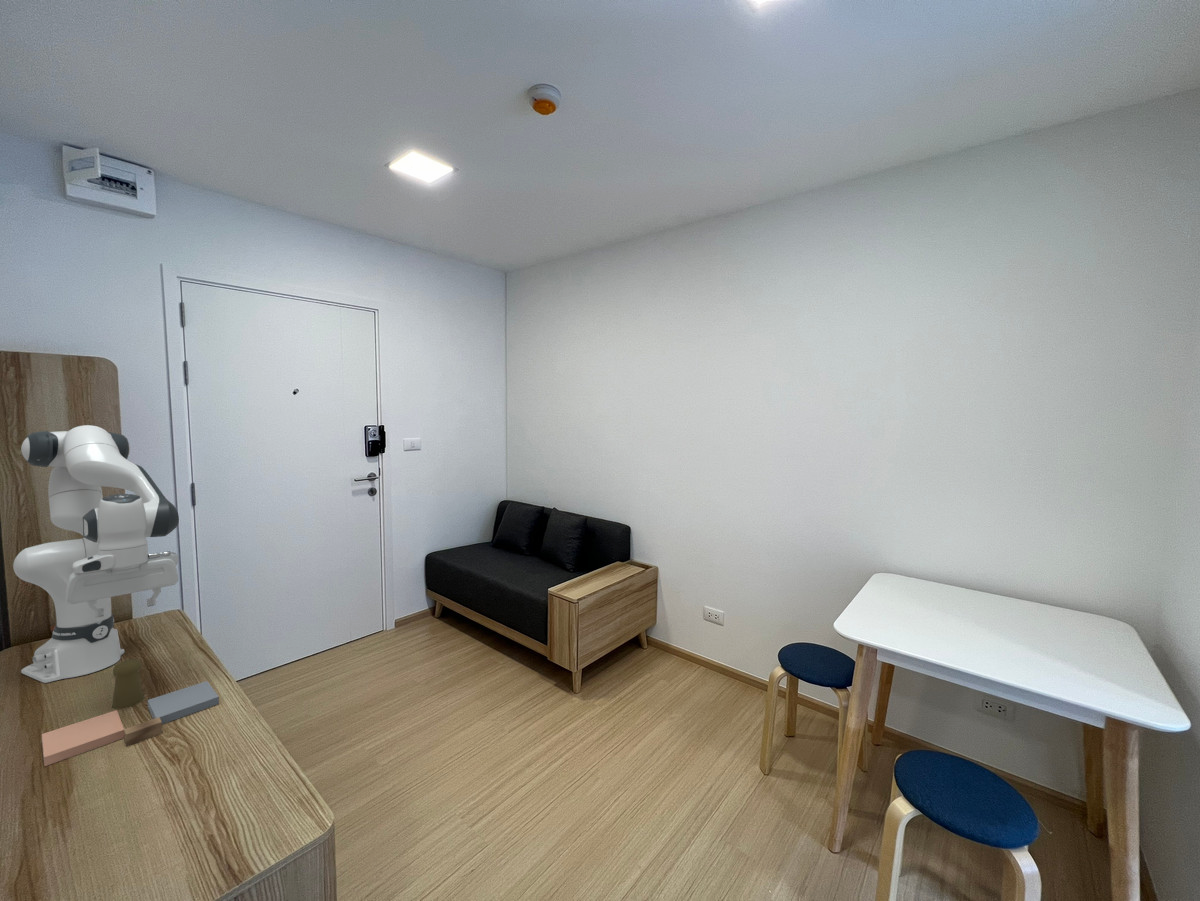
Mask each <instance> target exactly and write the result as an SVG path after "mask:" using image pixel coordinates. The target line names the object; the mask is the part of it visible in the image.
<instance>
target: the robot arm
mask: <svg viewBox="0 0 1200 901" xmlns="http://www.w3.org/2000/svg"><path fill="white" fill-rule="evenodd" d="M20 449H21V450H20V451H21V454H22V456H23V458H24V459H25V461H26V462H27V463H28V464H29V465H31V466H34V467H42V468H48V467H53V468H52V469H51V471H50V475H49V479H48V480H49V481H48V488H47V489H48V490H47V491H48V492H47V493H48V494H47V495H48V496H47V497H48V505H49V516H50V522H51V523H52V525H54V526H55V527H57V528H59V529H62V530H66V531H71V532H74V533H77V534H80V535H81V536H82V537H81V538H77V539H67V540H60V541H59V540H58V541H50V542H45V543H42V544H41V543H40V544H36V545H33V546H29V547H26V548H24V549H22V550H21V551H20V552H19V553H18V554H17V555H16V557H15V558H14V561H13V564H12V567H13V568H12V569H13V572H14V573H15V575H16V577H18V578H19V579H20V580H22V581H24V582H27V583H29V584H33V585H36V586H38V587H40V588H42V589H43V590H44V591H46V593H48V594H49V596H50V597H51V599H52V601H53V604H54V608H55V609H54V610H55V618H56V624H54V625H51V626H50V631H52V635H51V638H50V639H49V640H47V641H46V642H45V643H43V644H42V645H40V646H39V647H38V648H36V650H35V651H34V653H33V656H32V662H33V663H31V664H29V665H27V666H25V667H23V668H22V669H21V670H20V673H21V674H23V675H25V676H27V677H30V678H31V679H34V680H36V681H39V682H40V683H44V684H46V683H47V684H48V683H51V682H55V681H58V680H59V681H60V680H63V679H71V678H76V677H81V676H84V675H88V674H93V673H95V672H98V671H101V670H104V669H106V668H108V667H111V666H113V665H116V663H119V661H121V656H122V655H123V654H125V649H124V648H121V643H120V638H119V632H118V629H117V628H114V626H115V618H114V614H113V613H112V598H114V597H119V596H124V595H128V594H135V593H139V592H144V591H150V590H152V592H153V594H152V596H151V597H150V598H147V599H146V602H147V603H146V606H147V607H153V606H156V604H157V603H156V602H157V601H156V600H157V598H158V597H159V595H160V594H161V592H162V588H164V587H171V586H174V585H176V584H177V583H178V582H179V574H178V570H177V569H178V568H177V565H178V564H179V556H178V554H177V553H176V552H173V551H168V550H167V551H162V552H155V553H149V551H148V549H149V548H148V545H149V544H148V540H147V538H159V537H166V536H168V535H170V534H171V533H172V532H173V531H174V530H175V529H177V527H178V526H179V524H180V519H179V518H180V517H179V513H178V509H177V507H176V506H175V505H174V504H173V503H172V502H171V501H169V500H168V499H167V497H165V495H164V494H163V492H162V491H161V490H160V489H159V487H158V485H157V484H156V482H155V481H154V480H153V479H152V477H151V476H150V474H148V472H147V471H146V470H145V468H143V467H142V466H141V465H139V464H137V463H133V462H132V461H129V459H128V457H129V455H130V453H131V446H130V442H129V440H128V438H127V437H126V436H125V435H124V434H121V433H118V432H117V433H116V432H110V431H109V432H108V431H107V430H105V429H104V428H102V427H100V426H96V425H89V424H86V425H85V424H83V425H78V426H75V427H73V428H71V429H69V430H68V431H67V430H64V431H63V430H61V431H59V430H58V431H48V430H44V431H43V430H40V431H35V432H31V433H30V434H27V435H26V436H25V438H24V440H23V442H22V444H21V447H20ZM102 487H107V488H114V489H115V488H116V489H122V490H125V491H130V492H132V494H131V493H129V494H128V493H117V494H111V495H107V496H103V490H102ZM133 493H134V494H133Z"/></svg>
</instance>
